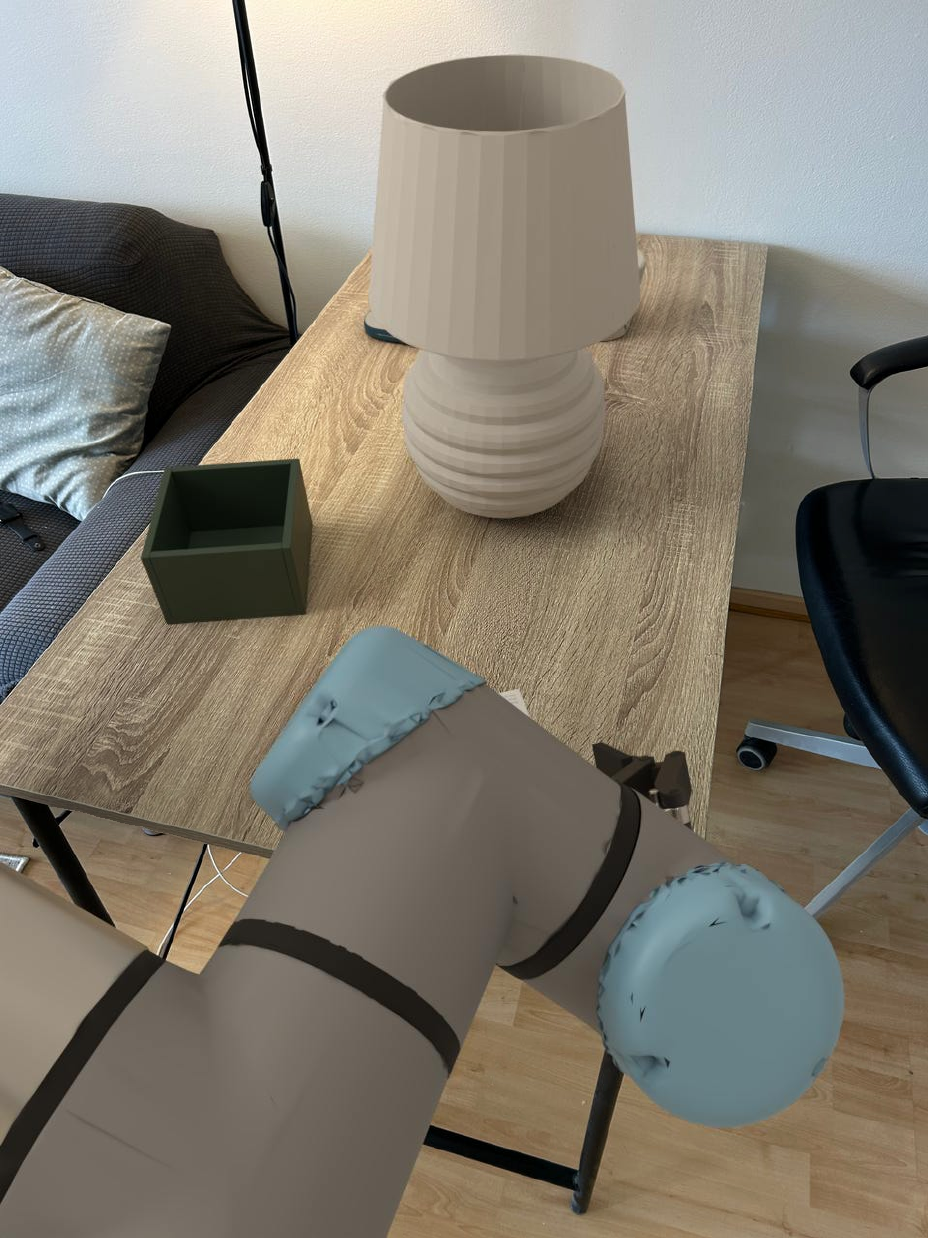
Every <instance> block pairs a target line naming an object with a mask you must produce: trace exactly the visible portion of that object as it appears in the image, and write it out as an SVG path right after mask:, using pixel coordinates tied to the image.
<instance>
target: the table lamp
mask: <svg viewBox="0 0 928 1238" xmlns="http://www.w3.org/2000/svg"><path fill="white" fill-rule="evenodd" d="M626 94H627V90H626V88H625V86H624V85H623V83H622V81H621V80H620V79H619V78H618V77H617V76H616V74H614V73H613V72H612V71H611V70H607V69H605V68H603V67H599V66H597V65H593V64H590V63H587V62H583V61H579V60H576V59H573V58H567V57H566V58H564V57H555V56H546V55H533V54H532V55H531V54H521V53H520V54H519V53H517V54H516V53H513V54H493V55H481V56H470V57H469V56H468V57H458V58H454V59H449V60H444V61H439V62H436V63H435V62H434V63H431V64H426V65H424V66H421V67H419V68H417V69H413V70H412V71H409V72H406V73H404V74H403V75H401V76H399V77H397V78H395V79H394V80H391V81H390V83H389V84H388V85H387V88H386V89H385V90H384V92H383V93H382V102H383V103H382V115H381V129H380V140H379V141H380V142H379V144H380V145H379V155H378V166H377V167H378V168H377V181H376V194H375V207H374V220H373V221H374V222H373V223H374V224H373V234H372V246H371V260H370V270H369V271H370V274H369V286H368V296H367V297H368V299H367V302H368V305H369V309H370V310H371V312H372V315H373V316H374V318H375V319H376V320H377V322H378V323H379V325H380V326H381V327H383V328H384V329H385V330H386V331H387V332H389V333H390V334H391V335H392V336H394V337H396V338H398V339H399V340H401V341H403V342H405V343H404V344H407V345H409V346H411V347H414V348H417V349H420V350H419V352H418V354H417V355H416V357H415V360H414V363H412V365H411V366H410V368H409V370H408V371H407V373H406V375H405V378H404V381H403V388H402V404H401V405H402V406H401V413H400V414H401V417H400V420H401V421H400V422H401V424H402V427H403V439H404V443H405V447H406V450H407V454H408V455H409V457H410V458H411V460H412V461H413V463H414V465H415V467H416V470H417V472H418V474H419V476H420V478H421V479H422V480H423V482H424V483H425V484H426V485H427V486H428V487H429V488H430V489H431V490H432V491H433V492H435V493H437V495H438V496H440V498H441V499H443V500H444V502H446V503H447V504H449V505H451V506H452V507H453V508H456V509H458V510H460V511H462V512H465V513H468V514H472V515H474V516H479V517H484V518H491V519H505V520H507V519H513V518H522V517H529V516H532V515H535V514H537V513H540V512H543V511H546V510H547V509H550V508H552V507H554V506H556V505H557V504H558V503H560V502H561V501H562V500H564V498H566V497H567V496H568V495H569V494H570V493H571V492H572V491H574V490H575V489H576V488H577V487H579V485H580V484H581V483H582V482H583V481H584V479H585V478H586V477H587V475H588V474H589V471H590V469H591V467H592V466H591V465H592V464H593V462H594V461H595V459H596V458H597V457H598V455H599V453H600V450H601V447H602V444H603V440H604V428H605V427H604V426H605V424H606V421H607V406H606V400H605V391H606V390H605V389H606V388H605V381H604V378H603V374H602V372H601V371H600V369H599V367H598V365H597V364H596V362H595V361H594V359H593V356H592V355H591V353H590V350H589V349H588V347H590V346H593V345H597V344H598V343H600V342H603V341H602V340H604V339H605V338H607V337H609V336H611V335H613V334H614V333H616V332H617V331H618V330H619V329H621V328H622V327H623V326H624V325H625V324H627V322H628V321H629V320H630V319H631V320H632V318H633V316H635V313H636V312H637V309H638V306H639V304H640V300H641V284H640V280H639V267H638V254H637V249H638V244H637V243H638V242H637V233H636V232H637V229H636V218H635V205H634V194H633V193H634V192H633V180H632V179H633V177H632V165H631V153H630V141H629V128H628V116H627V103H626Z"/></svg>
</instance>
